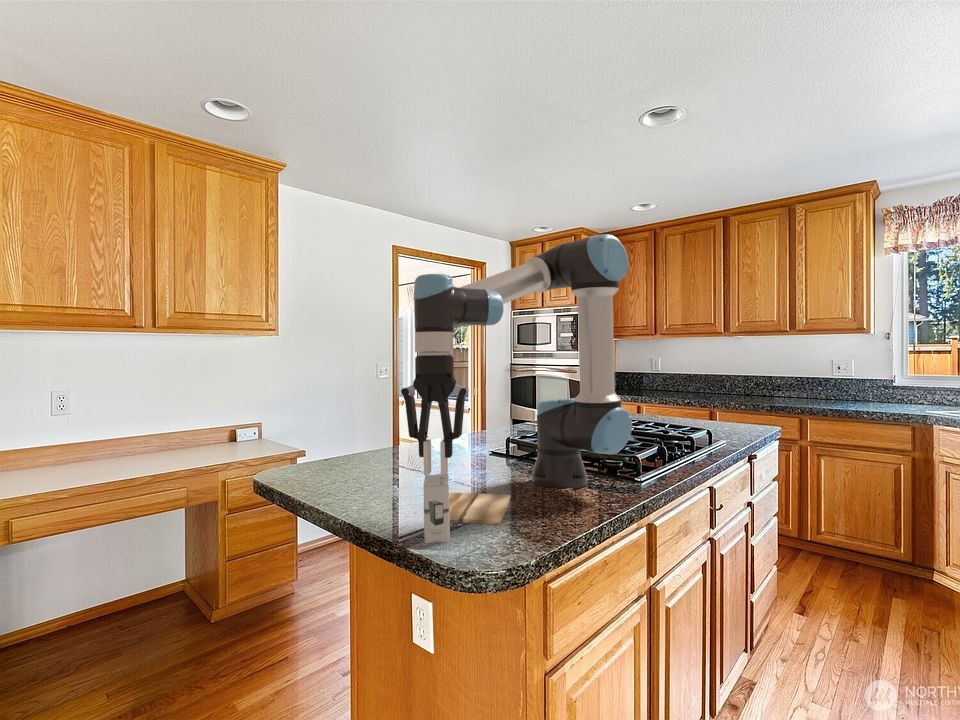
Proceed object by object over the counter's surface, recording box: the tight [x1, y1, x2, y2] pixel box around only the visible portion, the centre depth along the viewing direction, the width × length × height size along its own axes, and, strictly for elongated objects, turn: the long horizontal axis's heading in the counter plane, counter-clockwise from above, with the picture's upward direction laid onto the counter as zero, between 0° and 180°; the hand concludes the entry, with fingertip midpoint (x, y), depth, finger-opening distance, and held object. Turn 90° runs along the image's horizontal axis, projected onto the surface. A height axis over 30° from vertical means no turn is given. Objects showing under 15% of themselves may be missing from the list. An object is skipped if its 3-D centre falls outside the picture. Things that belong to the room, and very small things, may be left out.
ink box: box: [423, 473, 451, 544], centre depth 99 cm, size 9×5×12 cm, turn 5°
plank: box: [462, 493, 512, 525], centre depth 114 cm, size 8×19×1 cm, turn 170°
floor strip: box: [449, 491, 478, 524], centre depth 116 cm, size 7×20×1 cm, turn 170°
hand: (435, 473), depth 99 cm, fingers open, 3 cm apart
